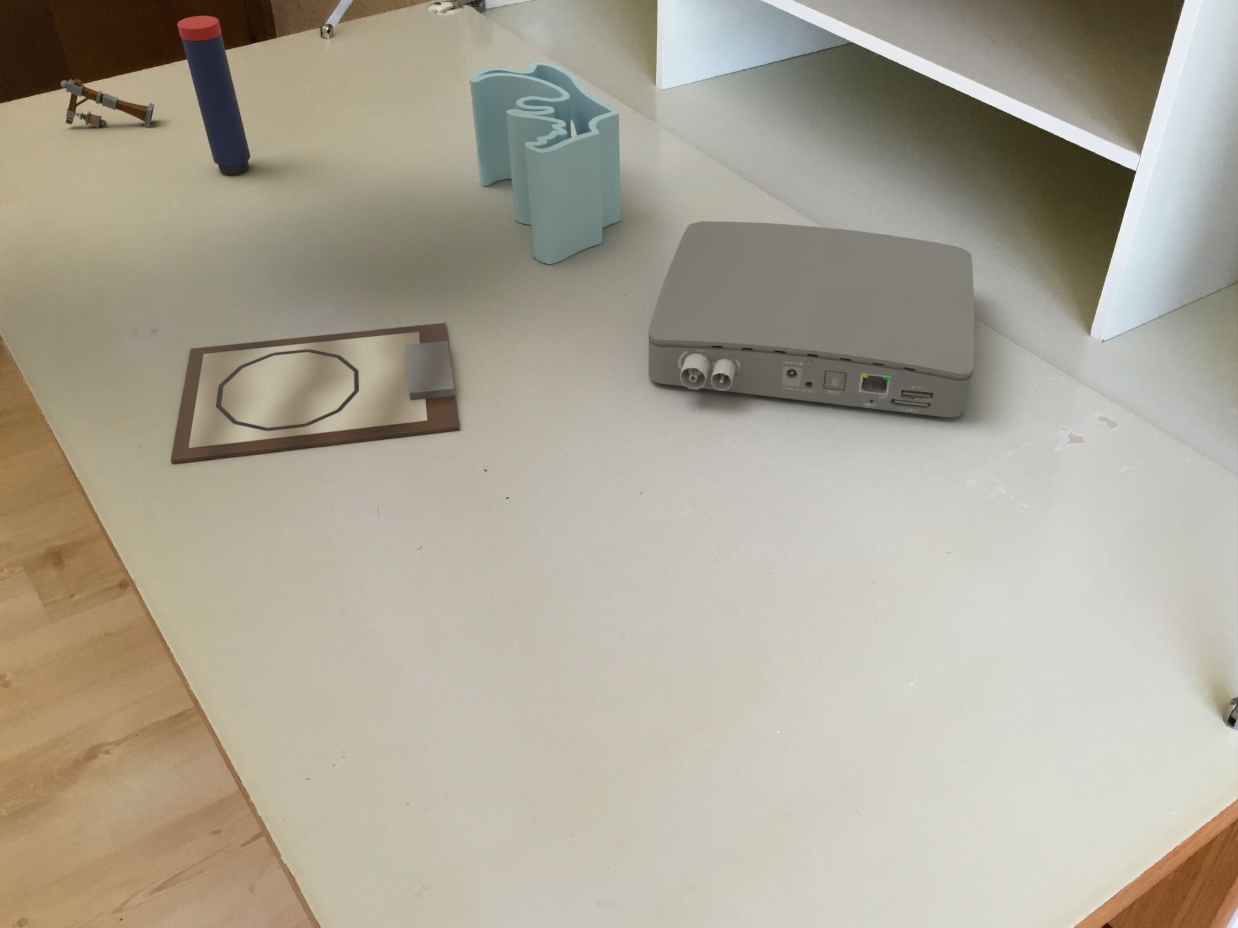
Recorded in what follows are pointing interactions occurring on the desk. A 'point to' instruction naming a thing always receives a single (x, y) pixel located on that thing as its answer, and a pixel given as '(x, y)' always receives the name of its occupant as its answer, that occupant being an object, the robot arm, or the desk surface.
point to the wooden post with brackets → (106, 100)
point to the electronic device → (817, 317)
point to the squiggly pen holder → (549, 154)
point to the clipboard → (315, 392)
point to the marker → (215, 93)
